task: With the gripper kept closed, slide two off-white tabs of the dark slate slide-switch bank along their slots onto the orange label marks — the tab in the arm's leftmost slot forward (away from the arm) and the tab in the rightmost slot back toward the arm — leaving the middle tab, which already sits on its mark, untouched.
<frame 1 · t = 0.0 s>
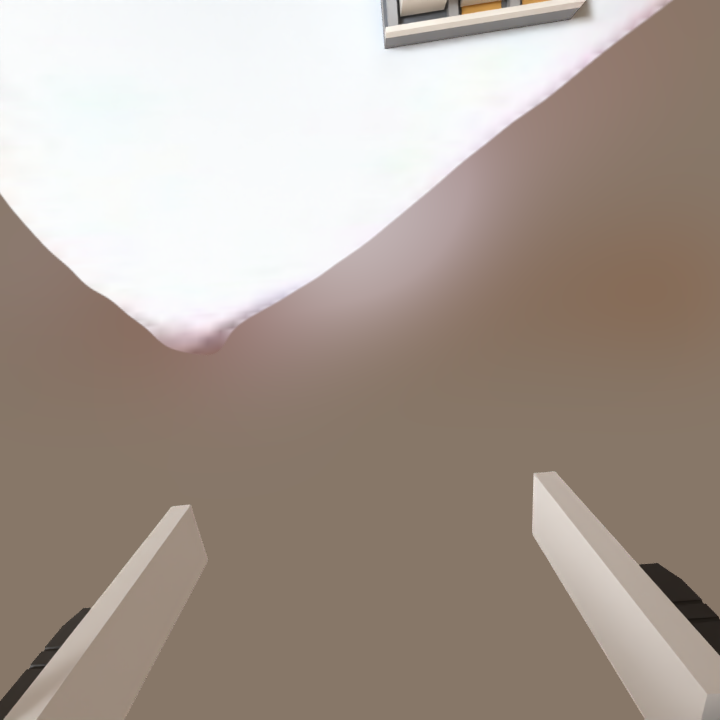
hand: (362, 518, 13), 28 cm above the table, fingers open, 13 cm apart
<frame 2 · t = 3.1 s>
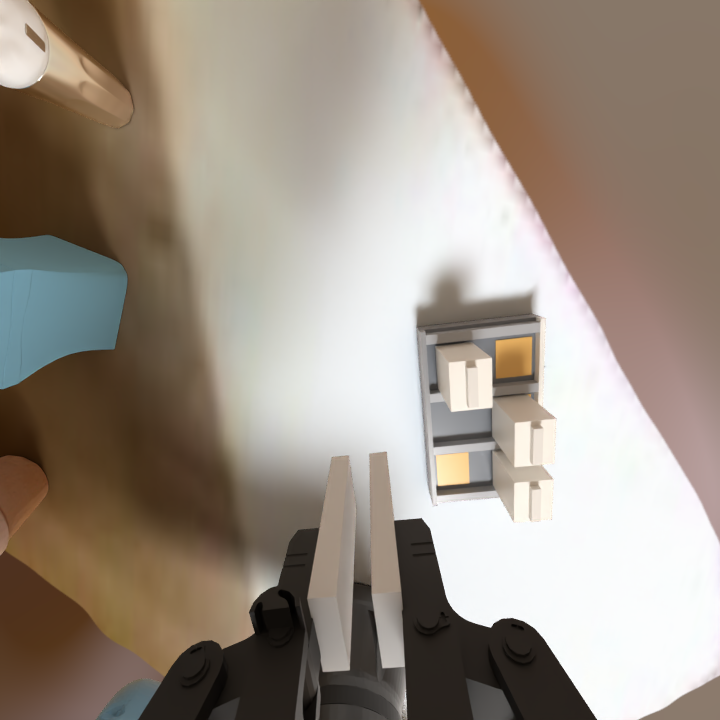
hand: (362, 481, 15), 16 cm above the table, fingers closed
tab a: (462, 375, 26), point 4 cm above the table, slide at -2.3 cm
milkshake: (119, 106, 26), on the table
potted plant: (22, 481, 35), on the table
tab c: (522, 429, 27), point 5 cm above the table, slide at 2.3 cm
switch bank: (476, 409, 32), on the table
vase: (79, 292, 30), on the table
tab b: (521, 484, 29), point 4 cm above the table, slide at 2.3 cm
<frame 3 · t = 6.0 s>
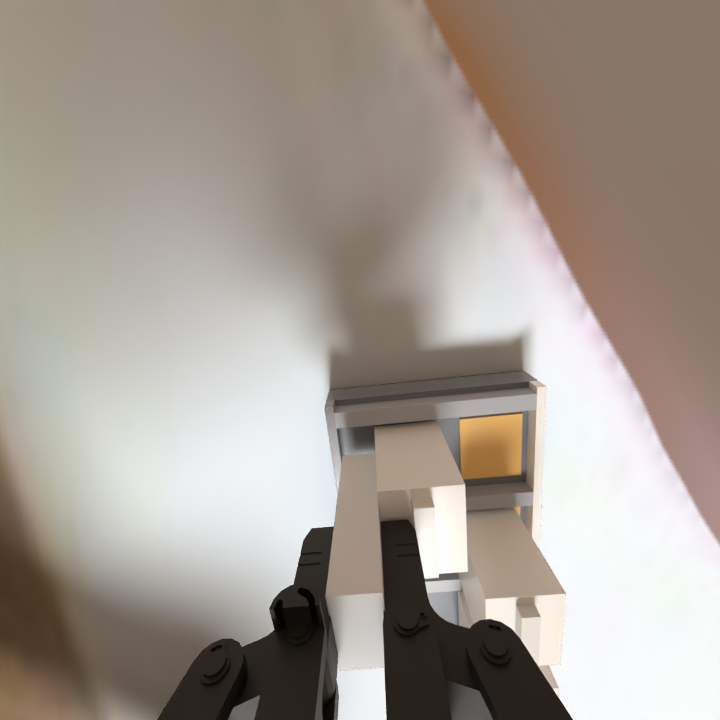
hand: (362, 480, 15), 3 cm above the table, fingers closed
tab a: (415, 493, 14), point 4 cm above the table, slide at -1.3 cm, touching gripper
tab c: (503, 583, 15), point 4 cm above the table, slide at 2.3 cm
switch bank: (433, 515, 20), on the table
tab b: (502, 663, 17), point 4 cm above the table, slide at 2.3 cm
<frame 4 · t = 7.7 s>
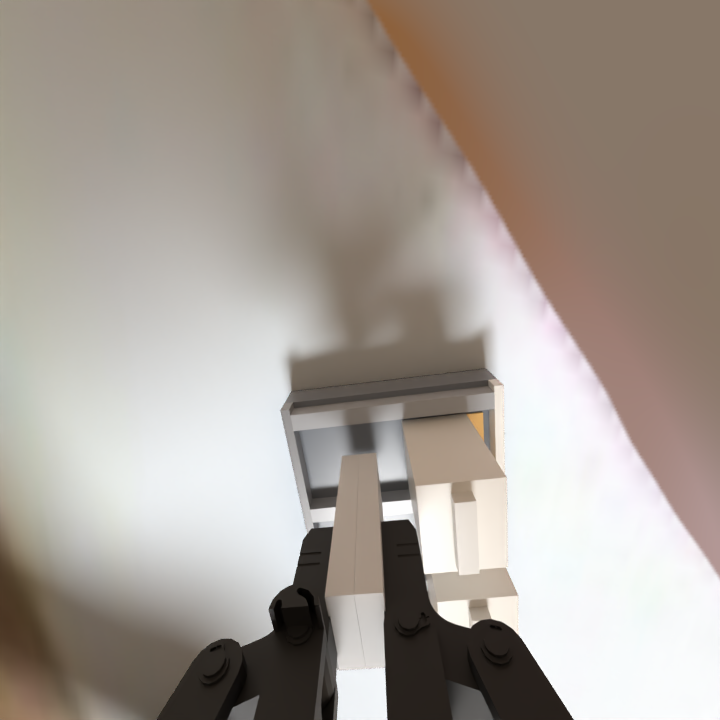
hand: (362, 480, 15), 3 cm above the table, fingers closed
tab a: (449, 488, 14), point 4 cm above the table, slide at 1.9 cm
tab c: (464, 584, 15), point 4 cm above the table, slide at 2.3 cm
switch bank: (403, 516, 20), on the table
tab b: (468, 665, 17), point 5 cm above the table, slide at 2.3 cm
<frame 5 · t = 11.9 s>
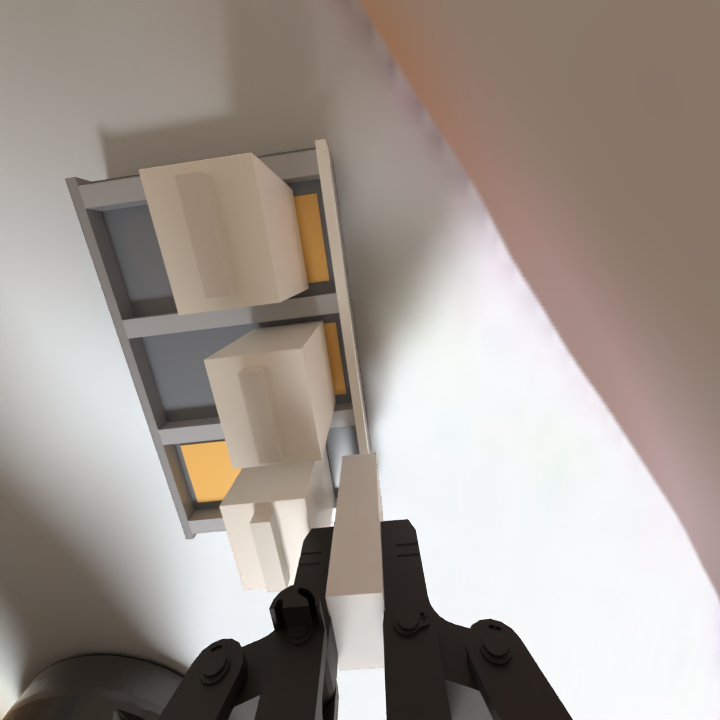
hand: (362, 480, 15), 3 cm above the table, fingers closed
tab a: (241, 242, 11), point 4 cm above the table, slide at 1.9 cm
tab c: (282, 387, 13), point 5 cm above the table, slide at 2.3 cm
switch bank: (259, 359, 17), on the table
tab b: (286, 504, 14), point 4 cm above the table, slide at 1.5 cm, touching gripper
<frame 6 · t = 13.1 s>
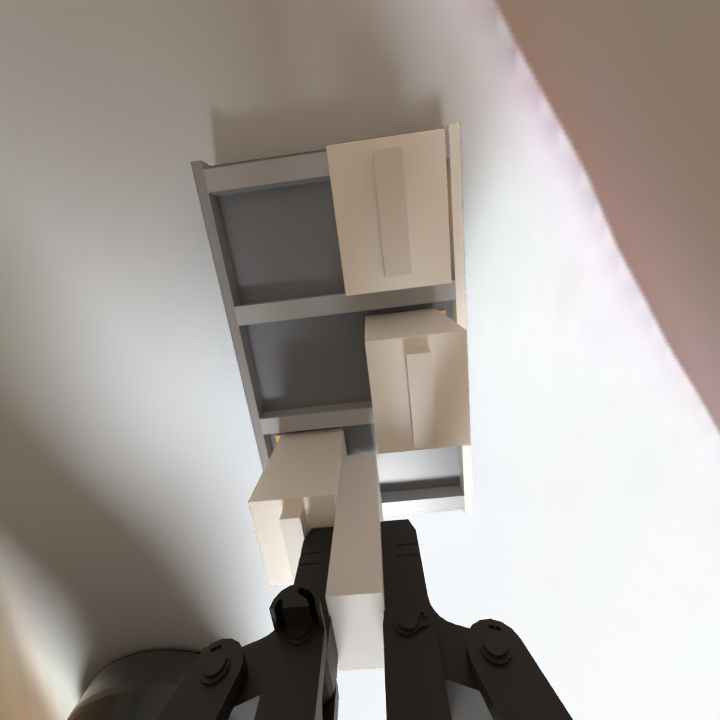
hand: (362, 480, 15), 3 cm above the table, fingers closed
tab a: (387, 225, 11), point 5 cm above the table, slide at 1.9 cm
tab c: (411, 373, 13), point 4 cm above the table, slide at 2.3 cm
switch bank: (354, 349, 17), on the table
tab b: (309, 501, 14), point 5 cm above the table, slide at -2.4 cm, touching gripper
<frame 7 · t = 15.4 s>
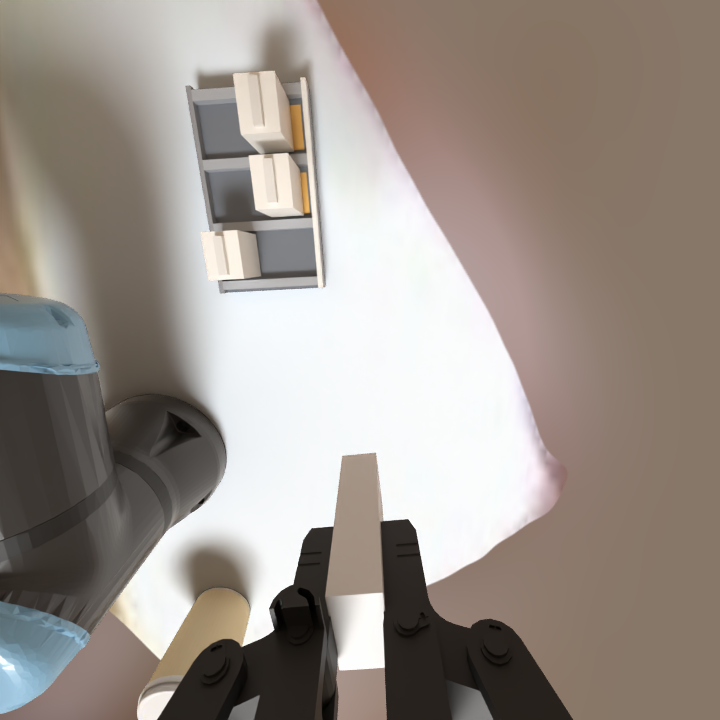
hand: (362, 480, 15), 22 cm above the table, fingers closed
tab a: (265, 115, 27), point 5 cm above the table, slide at 1.9 cm
tab c: (278, 187, 28), point 5 cm above the table, slide at 2.3 cm
switch bank: (266, 198, 33), on the table
tab b: (232, 256, 30), point 5 cm above the table, slide at -2.4 cm
coffee cup: (223, 606, 48), on the table
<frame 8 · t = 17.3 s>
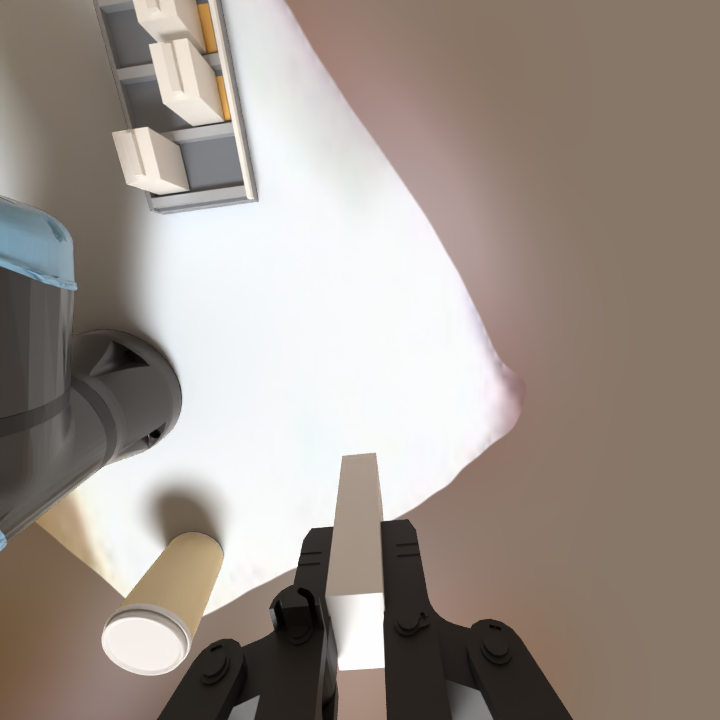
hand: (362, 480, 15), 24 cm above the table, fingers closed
tab a: (167, 7, 27), point 4 cm above the table, slide at 1.9 cm
tab c: (188, 85, 28), point 4 cm above the table, slide at 2.3 cm
switch bank: (189, 112, 32), on the table
tab b: (152, 163, 30), point 4 cm above the table, slide at -2.4 cm
coffee cup: (197, 552, 48), on the table
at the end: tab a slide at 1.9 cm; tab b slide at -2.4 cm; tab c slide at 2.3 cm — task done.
